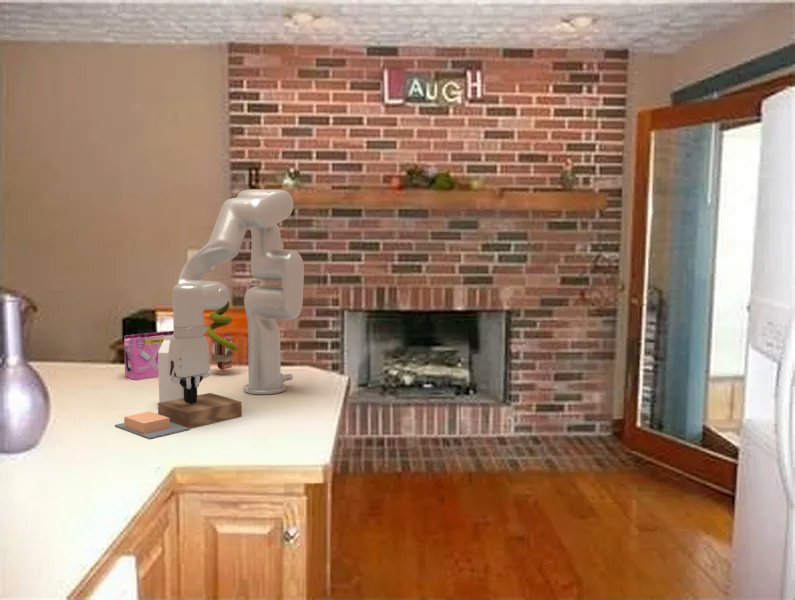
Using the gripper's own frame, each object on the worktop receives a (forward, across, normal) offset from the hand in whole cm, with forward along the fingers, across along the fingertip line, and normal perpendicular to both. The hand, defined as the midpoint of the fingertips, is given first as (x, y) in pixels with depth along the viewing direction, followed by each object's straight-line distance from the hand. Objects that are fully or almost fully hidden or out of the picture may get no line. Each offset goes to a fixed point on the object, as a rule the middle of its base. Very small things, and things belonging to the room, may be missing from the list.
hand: (190, 402), depth 198 cm
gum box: (+5, -25, -55) cm, 60 cm away
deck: (+4, -3, 0) cm, 5 cm away
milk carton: (+5, -7, -17) cm, 19 cm away
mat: (+4, +11, 0) cm, 12 cm away
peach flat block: (+2, +12, 0) cm, 12 cm away
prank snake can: (+5, -40, -41) cm, 57 cm away
